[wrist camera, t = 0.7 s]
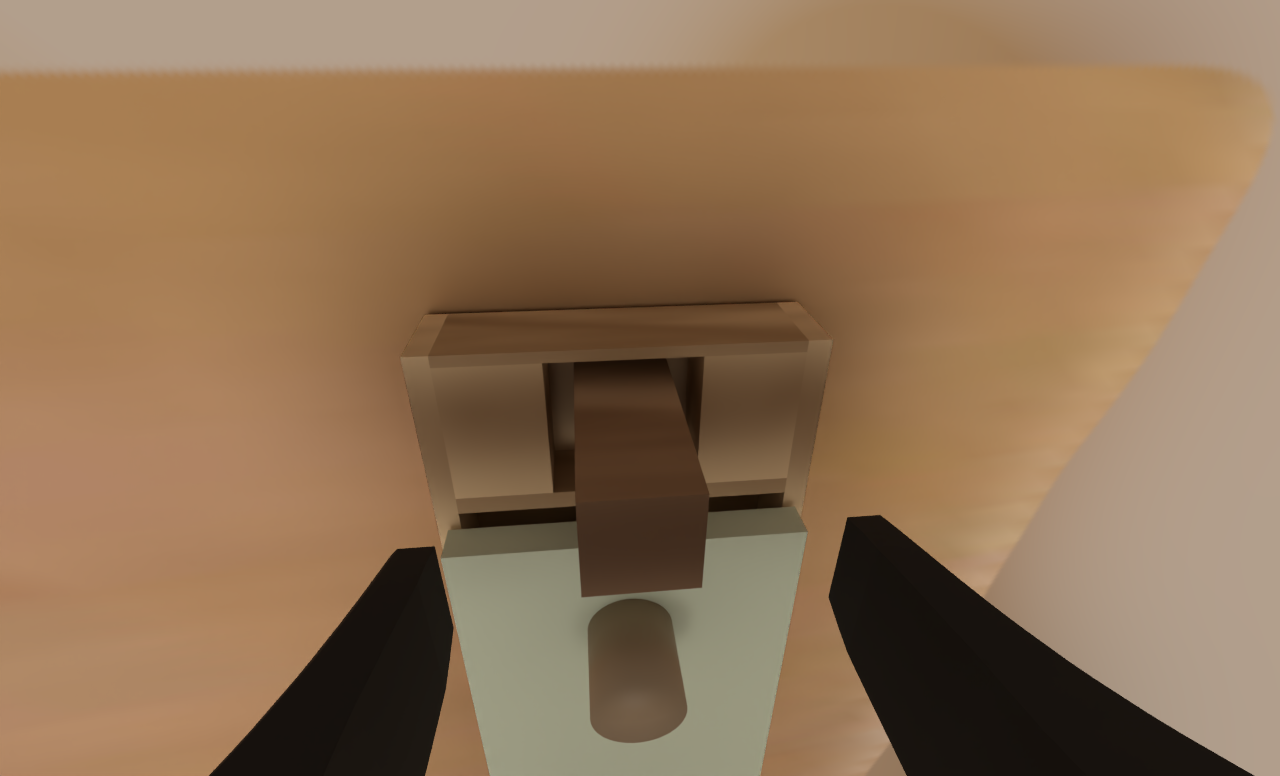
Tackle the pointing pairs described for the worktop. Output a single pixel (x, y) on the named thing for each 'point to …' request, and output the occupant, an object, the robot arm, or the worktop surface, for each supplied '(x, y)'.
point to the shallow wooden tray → (544, 402)
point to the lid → (624, 651)
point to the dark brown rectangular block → (636, 481)
